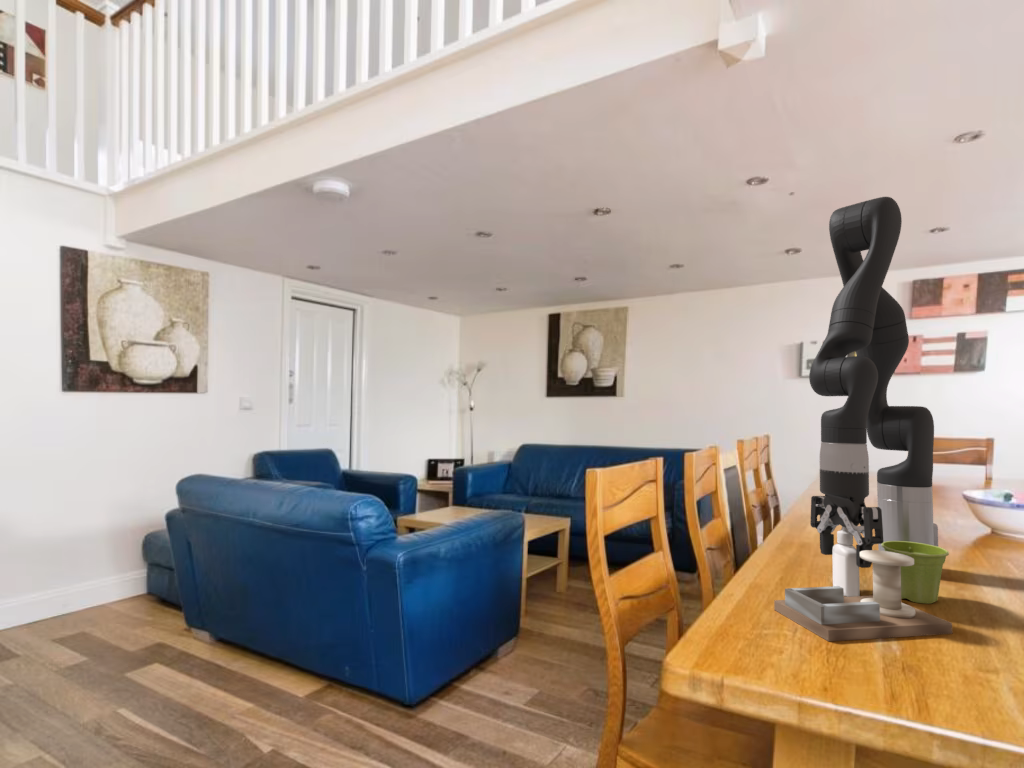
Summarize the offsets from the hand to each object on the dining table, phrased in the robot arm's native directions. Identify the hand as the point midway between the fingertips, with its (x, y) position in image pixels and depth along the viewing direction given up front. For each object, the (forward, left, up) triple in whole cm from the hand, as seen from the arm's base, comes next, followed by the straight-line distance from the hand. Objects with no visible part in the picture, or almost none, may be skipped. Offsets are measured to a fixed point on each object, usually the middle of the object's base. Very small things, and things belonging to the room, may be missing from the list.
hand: (844, 560), depth 97 cm
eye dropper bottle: (0, 0, -6) cm, 6 cm away
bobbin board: (+8, +12, -6) cm, 15 cm away
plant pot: (-10, +4, -6) cm, 12 cm away
